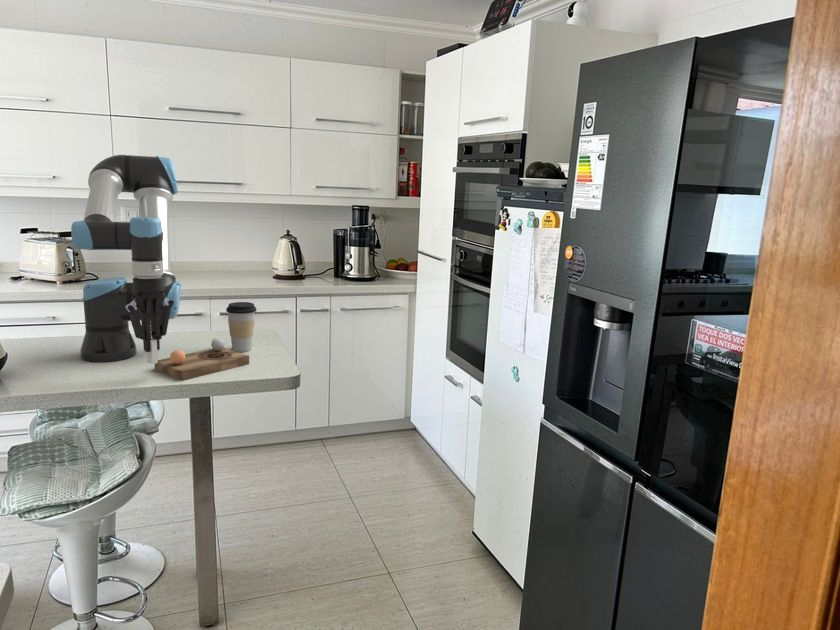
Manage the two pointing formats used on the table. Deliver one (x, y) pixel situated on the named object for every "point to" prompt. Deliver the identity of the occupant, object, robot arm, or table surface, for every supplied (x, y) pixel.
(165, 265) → the robot arm
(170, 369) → the brown wooden board
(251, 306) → the coffee cup
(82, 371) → the table surface
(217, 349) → the grey ball
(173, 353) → the ball
